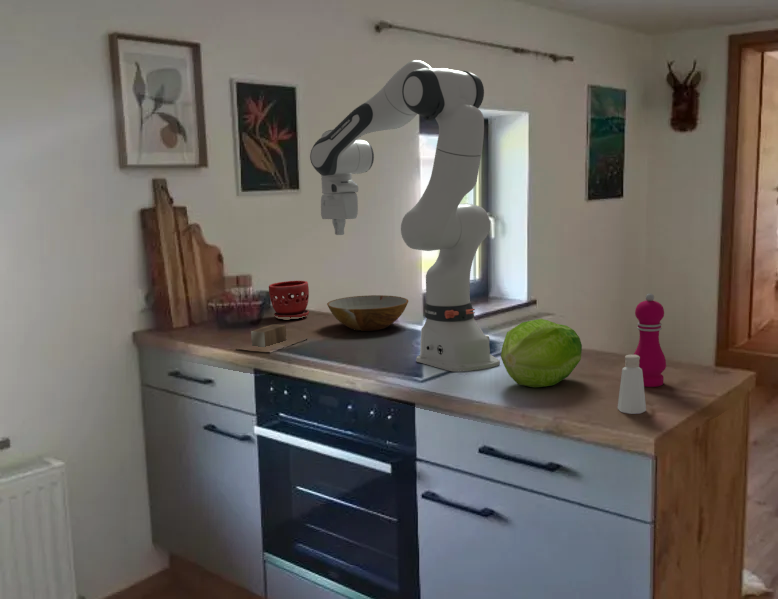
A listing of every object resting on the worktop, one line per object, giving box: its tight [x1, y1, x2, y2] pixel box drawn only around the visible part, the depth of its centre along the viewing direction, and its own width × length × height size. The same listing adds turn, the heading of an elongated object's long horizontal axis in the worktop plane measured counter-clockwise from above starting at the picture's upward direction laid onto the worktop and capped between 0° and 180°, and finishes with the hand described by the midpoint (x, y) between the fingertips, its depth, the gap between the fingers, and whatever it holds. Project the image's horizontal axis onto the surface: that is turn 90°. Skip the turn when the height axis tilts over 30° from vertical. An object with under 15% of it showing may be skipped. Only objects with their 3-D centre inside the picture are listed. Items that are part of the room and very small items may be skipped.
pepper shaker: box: [617, 353, 647, 415], centre depth 159 cm, size 5×5×11 cm
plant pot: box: [268, 280, 310, 318], centre depth 269 cm, size 13×13×12 cm
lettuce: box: [500, 318, 583, 388], centre depth 180 cm, size 15×23×16 cm
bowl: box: [326, 294, 409, 332], centre depth 250 cm, size 25×25×8 cm
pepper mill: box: [633, 293, 667, 388], centre depth 177 cm, size 7×7×20 cm
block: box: [250, 323, 287, 347], centre depth 229 cm, size 4×4×10 cm
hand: (339, 234), depth 236 cm, fingers closed
